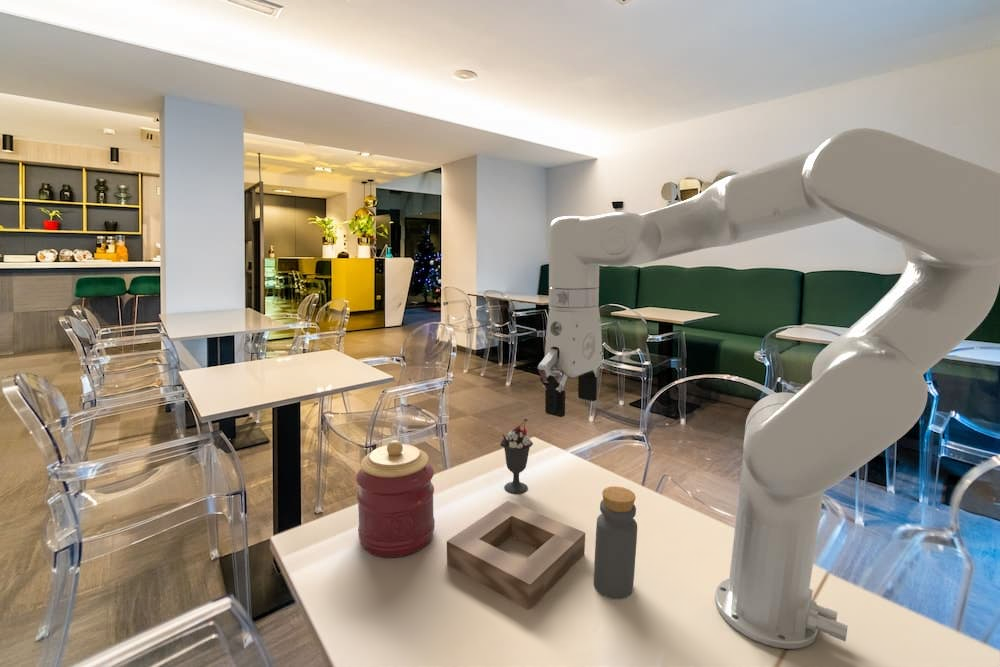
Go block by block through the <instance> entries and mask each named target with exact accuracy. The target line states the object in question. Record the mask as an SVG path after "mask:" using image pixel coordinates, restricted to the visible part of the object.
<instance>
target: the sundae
mask: <svg viewBox="0 0 1000 667" xmlns="http://www.w3.org/2000/svg"><path fill="white" fill-rule="evenodd" d="M527 421H528V419H527V418H524V420H523V421H522V423H521V424H520V425H516V426H515V428H513V429H510V431H509V432H508V433H507V437H506V436H505V435H504V434H502V436H503V439H501V441H500V447H502V448H503V449H504V455H505V464H506V468H507V469H508V470H509V472H511V473H512V474H513V477H512V478H513V479H512V481H511V482H507V483H506V484H505V485H504V487H503V489H504V490H505V491H506V492H508V493H510V494H513V495H515V494H517V495H519V494H523V493H526V492H527V491H528V489H529V488H528V485H527V484H526V483H524V482H521V481H520V473H521V472H523V471H524V470H525V469H526V468H527V463H528V460H529V459H528V458H529V452H530V448H531V447H532V446H533V445H534V442H532V440H531V438H530V437H529V436H528V430H527V429H526V428H525V427H526V426H525V424H526V422H527ZM522 425H523V428H522V427H521V426H522ZM521 428H522V429H521Z"/></svg>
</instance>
